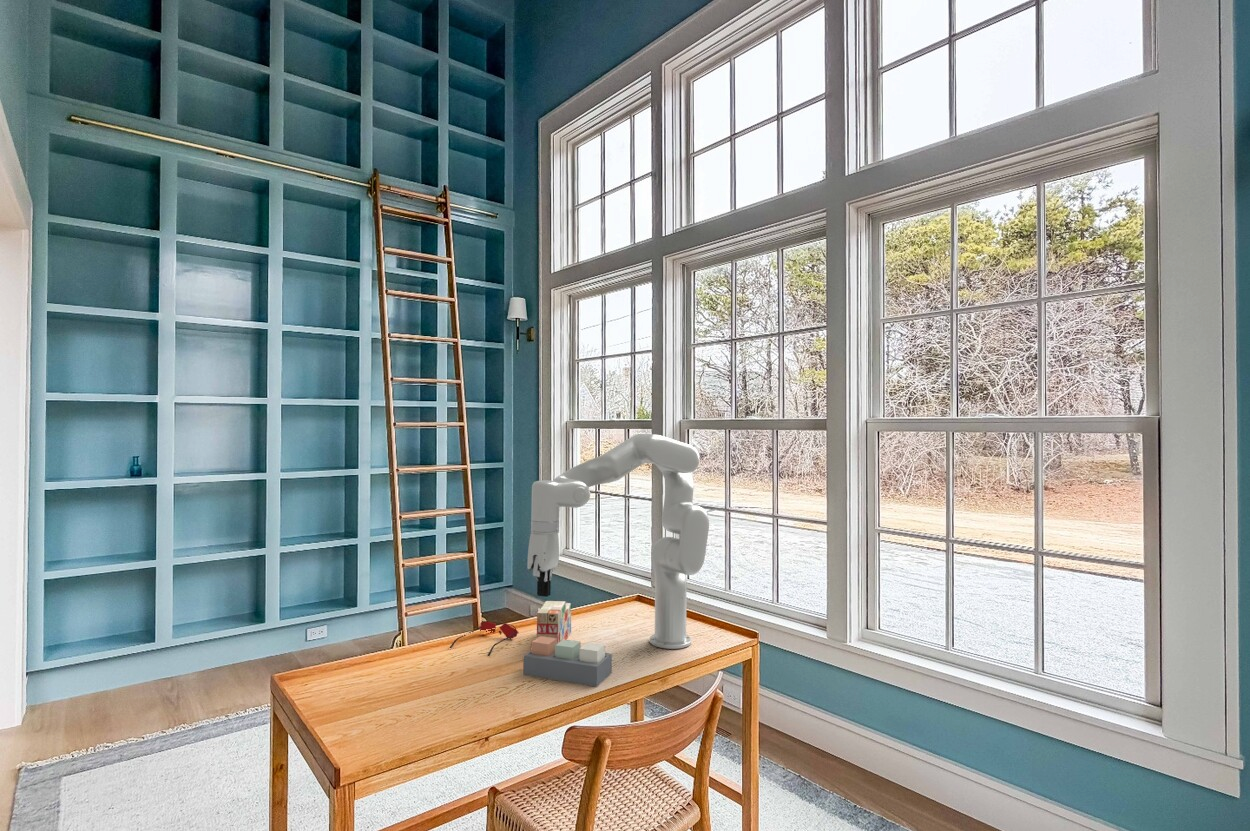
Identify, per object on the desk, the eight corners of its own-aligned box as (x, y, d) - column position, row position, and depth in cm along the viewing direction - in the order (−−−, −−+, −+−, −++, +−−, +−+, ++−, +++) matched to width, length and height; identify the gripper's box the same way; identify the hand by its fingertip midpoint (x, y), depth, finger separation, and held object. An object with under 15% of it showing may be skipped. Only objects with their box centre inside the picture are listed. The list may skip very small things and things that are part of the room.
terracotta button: (540, 654, 181) (540, 636, 181) (556, 657, 179) (556, 638, 179) (531, 660, 176) (531, 641, 176) (548, 663, 174) (548, 644, 174)
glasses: (519, 640, 203) (519, 624, 203) (488, 658, 187) (488, 640, 188) (480, 634, 208) (480, 618, 208) (447, 651, 193) (447, 634, 193)
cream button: (587, 661, 176) (587, 642, 176) (604, 664, 174) (604, 644, 174) (579, 667, 171) (579, 648, 171) (597, 670, 170) (597, 651, 170)
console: (541, 662, 184) (541, 643, 184) (611, 672, 176) (611, 653, 176) (523, 674, 174) (523, 655, 174) (596, 686, 167) (597, 666, 167)
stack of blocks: (551, 631, 211) (552, 592, 211) (571, 632, 210) (571, 593, 210) (536, 655, 189) (536, 611, 189) (557, 656, 189) (558, 612, 189)
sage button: (563, 657, 178) (563, 639, 178) (580, 660, 177) (580, 641, 177) (555, 664, 174) (555, 645, 174) (572, 666, 172) (572, 647, 172)
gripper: (545, 522, 186) (544, 587, 186) (518, 529, 172) (517, 600, 172) (569, 524, 184) (568, 590, 183) (544, 531, 170) (543, 604, 169)
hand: (543, 595), depth 178 cm, fingers closed
